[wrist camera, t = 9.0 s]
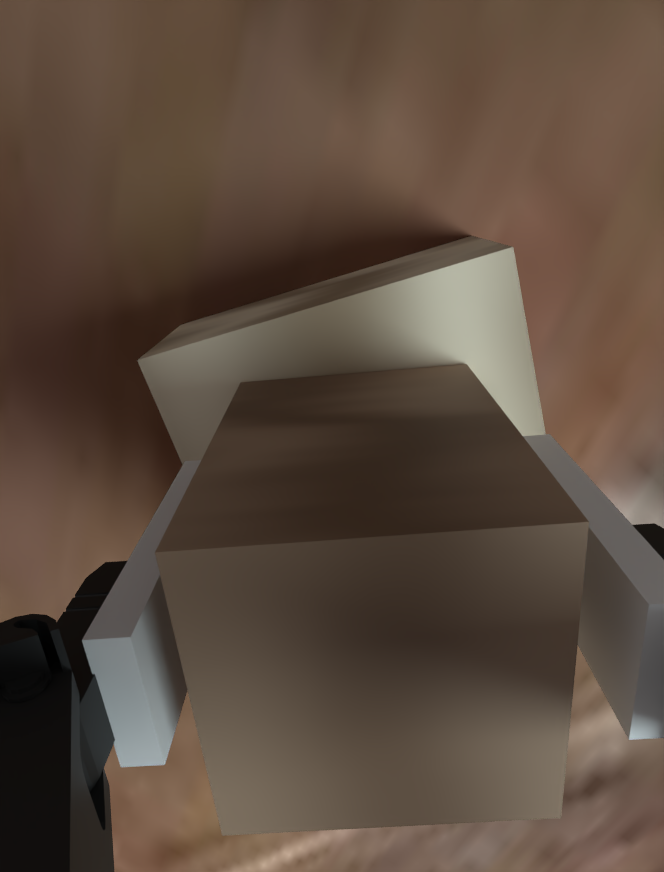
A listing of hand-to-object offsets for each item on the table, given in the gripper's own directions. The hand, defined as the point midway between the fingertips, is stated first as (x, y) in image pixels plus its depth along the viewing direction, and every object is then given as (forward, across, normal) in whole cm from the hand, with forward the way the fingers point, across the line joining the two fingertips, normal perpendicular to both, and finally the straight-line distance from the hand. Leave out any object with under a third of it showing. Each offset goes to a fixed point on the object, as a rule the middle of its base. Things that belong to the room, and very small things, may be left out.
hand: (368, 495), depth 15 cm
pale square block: (+7, 0, 0) cm, 7 cm away
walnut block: (+1, 0, 0) cm, 2 cm away
